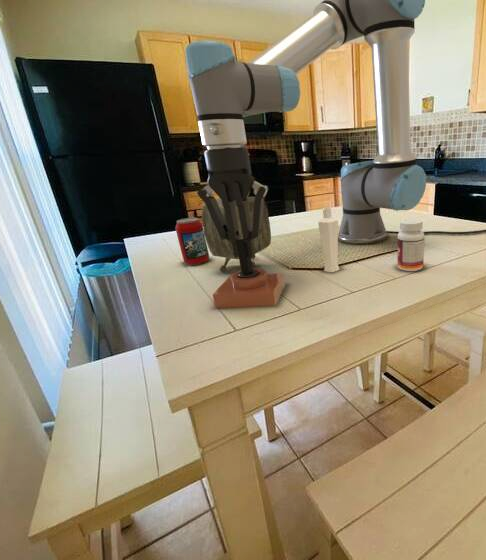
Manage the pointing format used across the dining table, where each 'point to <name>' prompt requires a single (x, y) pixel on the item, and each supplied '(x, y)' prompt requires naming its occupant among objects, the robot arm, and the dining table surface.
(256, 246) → the tabletop clock
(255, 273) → the dark grey short cylinder
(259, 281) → the brown stepped base
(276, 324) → the dining table surface
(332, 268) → the perfume bottle
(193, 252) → the beverage can
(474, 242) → the dining table surface
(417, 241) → the pill bottle
